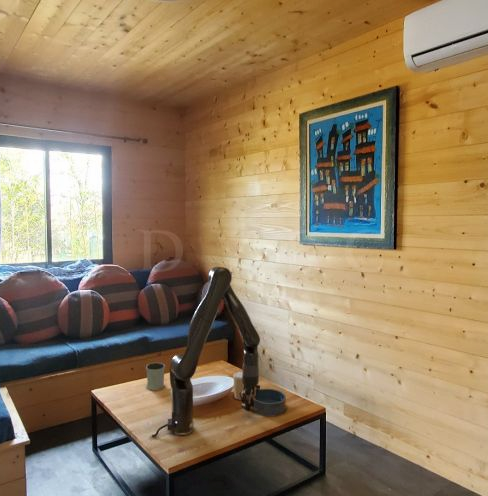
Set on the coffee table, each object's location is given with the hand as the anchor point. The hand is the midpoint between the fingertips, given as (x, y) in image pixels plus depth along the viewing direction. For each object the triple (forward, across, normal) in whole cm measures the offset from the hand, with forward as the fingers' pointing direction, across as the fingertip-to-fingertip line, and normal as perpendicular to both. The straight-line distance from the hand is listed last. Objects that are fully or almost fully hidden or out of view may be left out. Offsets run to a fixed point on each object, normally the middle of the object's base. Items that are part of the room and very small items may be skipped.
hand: (249, 409), depth 195 cm
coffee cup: (+5, -17, -17) cm, 25 cm away
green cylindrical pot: (+6, +4, -60) cm, 60 cm away
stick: (+1, 0, 0) cm, 1 cm away
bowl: (+5, -16, 0) cm, 17 cm away
